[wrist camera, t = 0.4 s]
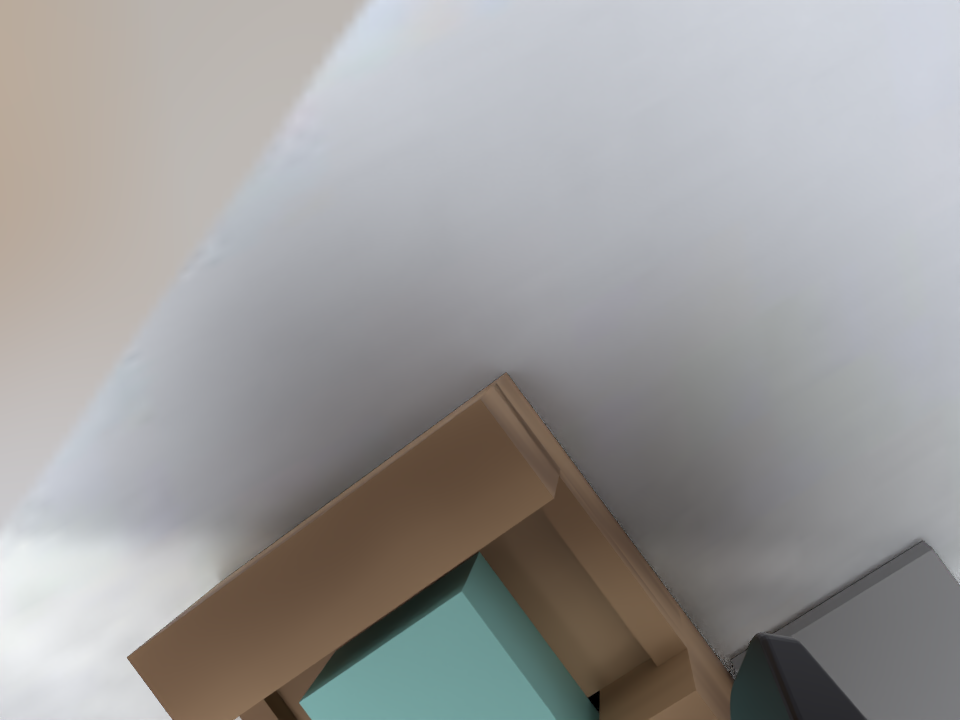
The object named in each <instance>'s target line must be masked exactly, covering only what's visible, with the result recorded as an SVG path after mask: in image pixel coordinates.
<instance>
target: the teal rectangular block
mask: <svg viewBox="0 0 960 720" xmlns="http://www.w3.org/2000/svg"><path fill="white" fill-rule="evenodd" d="M299 703H300V705H301V706H302V707H303V709H304V710H305V711H306V713H307V714H308V716H309V717H310V718H311V720H599V712H598V711H597V710H596V708H595V707H594V706H593V704H592V703H591V702H590V700H589V699H588V698H587V696H586V695H585V694H584V692H583V691H582V690H581V688H580V687H579V685H578V684H577V683H576V681H575V680H574V679H573V677H572V676H571V675H570V673H569V672H568V671H567V669H566V668H565V667H564V665H563V664H562V662H561V661H560V660H559V658H558V657H557V656H556V654H555V653H554V652H553V650H552V649H551V648H550V646H549V645H548V644H547V642H546V641H545V640H544V638H543V637H542V635H541V634H540V633H539V631H538V630H537V629H536V627H535V626H534V625H533V623H532V622H531V621H530V619H529V618H528V617H527V615H526V614H525V613H524V611H523V610H522V608H521V607H520V606H519V604H518V603H517V602H516V600H515V599H514V598H513V596H512V595H511V594H510V592H509V591H508V590H507V588H506V587H505V586H504V584H503V583H502V581H501V580H500V579H499V577H498V576H497V575H496V573H495V572H494V571H493V569H492V568H491V567H490V565H489V564H488V563H487V561H486V560H485V558H484V557H483V556H482V554H481V553H480V552H478V553H477V554H476V555H474V556H473V557H471V558H470V559H468V560H467V561H465V562H464V563H463V564H461V565H460V566H458V567H457V568H455V569H454V570H452V571H451V572H450V573H448V574H447V575H445V576H444V577H442V578H441V579H439V580H438V581H436V582H435V583H434V584H432V585H431V586H429V587H428V588H426V589H425V590H423V591H422V592H421V593H419V594H418V595H416V596H415V597H413V598H412V599H410V600H409V601H408V602H406V603H405V604H403V605H402V606H400V607H399V608H397V609H396V610H394V611H393V612H392V613H390V614H389V615H387V616H386V617H384V618H383V619H381V620H380V621H379V622H377V623H376V624H374V625H373V626H371V627H370V628H368V629H367V630H366V631H364V632H363V633H361V634H360V635H358V636H357V637H355V638H354V639H352V640H351V641H350V642H348V643H347V644H345V645H344V646H342V647H341V648H339V649H338V650H337V651H335V653H334V654H333V655H332V657H331V658H330V660H329V661H328V662H327V664H326V665H325V667H324V668H323V670H322V671H321V672H320V674H319V675H318V677H317V678H316V679H315V681H314V682H313V684H312V685H311V686H310V688H309V689H308V691H307V692H306V693H305V695H304V696H303V698H302V699H301V700H300V702H299Z"/></svg>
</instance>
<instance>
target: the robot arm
mask: <svg viewBox="0 0 960 720" xmlns="http://www.w3.org/2000/svg"><path fill="white" fill-rule="evenodd" d="M730 716H731V720H868V719H867V718H866V717H865V716H864V714H863V713H862V712H861V711H860V710H859V709H858V707H857V706H856V705H855V704H854V703H853V702H852V701H851V699H850V698H849V697H848V696H847V695H846V694H845V692H844V691H843V690H842V689H841V688H840V687H839V685H838V684H837V683H836V682H835V681H834V680H833V678H832V677H831V676H830V675H829V674H828V673H827V671H826V670H825V669H824V668H823V667H822V666H821V665H820V663H819V662H818V661H817V660H816V659H815V658H814V656H813V655H812V654H811V653H810V652H809V651H808V649H807V648H806V647H805V646H804V645H803V644H802V643H801V642H800V641H798V640H797V639H795V638H793V637H788V636H782V635H776V634H770V633H758V634H756V635H755V636H754V637H753V638H752V640H751V642H750V644H749V646H748V649H747V651H746V654H745V656H744V659H743V661H742V663H741V666H740V668H739V671H738V673H737V675H736V678H735V680H734V683H733V686H732V690H731V696H730Z"/></svg>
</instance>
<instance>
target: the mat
mask: <svg viewBox="0 0 960 720" xmlns="http://www.w3.org/2000/svg"><path fill="white" fill-rule="evenodd" d="M773 634H776V635H782V636H788V637H793V638H795V639H797V640H798V641H800V642H801V643H802V644H803V645H804V646H805V647H806V648H807V649H808V651H809V652H810V653H811V654H812V655H813V656H814V658H815V659H816V660H817V661H818V662H819V663H820V665H821V666H822V667H823V668H824V669H825V670H826V671H827V673H828V674H829V675H830V676H831V677H832V678H833V680H834V681H835V682H836V683H837V684H838V685H839V687H840V688H841V689H842V690H843V691H844V692H845V694H846V695H847V696H848V697H849V698H850V699H851V701H852V702H853V703H854V704H855V705H856V706H857V707H858V709H859V710H860V711H861V712H862V713H863V714H864V716H865V717H866V718H867V719H868V720H960V585H959V584H958V582H957V581H956V579H955V578H954V577H953V575H952V574H951V573H950V571H949V570H948V569H947V567H946V566H945V565H944V563H943V562H942V561H941V559H940V558H939V557H938V555H937V554H936V553H935V551H934V550H933V549H932V548H931V547H930V546H929V545H928V544H926V543H925V542H924V541H922V542H921V543H919V544H917V545H916V546H914V547H912V548H911V549H909V550H908V551H906V552H904V553H903V554H901V555H900V556H898V557H896V558H895V559H893V560H891V561H890V562H888V563H887V564H885V565H883V566H882V567H880V568H878V569H877V570H875V571H874V572H872V573H870V574H869V575H867V576H866V577H864V578H862V579H861V580H859V581H857V582H856V583H854V584H853V585H851V586H849V587H848V588H846V589H845V590H843V591H841V592H840V593H838V594H836V595H835V596H833V597H832V598H830V599H828V600H827V601H825V602H824V603H822V604H820V605H819V606H817V607H815V608H814V609H812V610H811V611H809V612H807V613H806V614H804V615H802V616H801V617H799V618H798V619H796V620H794V621H793V622H791V623H790V624H788V625H786V626H785V627H783V628H781V629H780V630H778V631H777V632H775V633H773ZM746 651H747V650H746ZM746 651H744V652H743V653H741V654H739V655H738V656H736V657H735V658H733V659H731V660H732V663H733V666H734V669H735V671H736V673H738V671H739V668H740V666H741V663H742V661H743V659H744V656H745V654H746Z"/></svg>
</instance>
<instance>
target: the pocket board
mask: <svg viewBox="0 0 960 720" xmlns="http://www.w3.org/2000/svg"><path fill="white" fill-rule="evenodd" d="M478 552H480V553H481V554H482V556H483V557H484V558H485V560H486V561H487V563H488V564H489V565H490V567H491V568H492V569H493V571H494V572H495V573H496V575H497V576H498V577H499V579H500V580H501V581H502V583H503V584H504V586H505V587H506V588H507V590H508V591H509V592H510V594H511V595H512V596H513V598H514V599H515V600H516V602H517V603H518V604H519V606H520V607H521V608H522V610H523V611H524V613H525V614H526V615H527V617H528V618H529V619H530V621H531V622H532V623H533V625H534V626H535V627H536V629H537V630H538V631H539V633H540V634H541V635H542V637H543V638H544V640H545V641H546V642H547V644H548V645H549V646H550V648H551V649H552V650H553V652H554V653H555V654H556V656H557V657H558V658H559V660H560V661H561V662H562V664H563V665H564V667H565V668H566V669H567V671H568V672H569V673H570V675H571V676H572V677H573V679H574V680H575V681H576V683H577V684H578V685H579V687H580V688H581V690H582V691H583V692H584V694H585V695H586V696H587V698H588V697H590V696H591V695H593V694H595V693H596V692H598V691H599V690H600V710H599V720H731V716H730V696H731V690H732V686H733V683H734V679H733V677H732V676H731V675H730V673H729V672H728V671H727V669H726V668H725V667H724V665H723V664H722V663H721V661H720V660H719V659H718V657H717V656H716V655H715V653H714V652H713V651H712V649H711V648H710V646H709V645H708V644H707V642H706V641H705V640H704V638H703V637H702V636H701V634H700V633H699V632H698V630H697V629H696V628H695V626H694V625H693V624H692V622H691V621H690V619H689V618H688V617H687V615H686V614H685V613H684V611H683V610H682V609H681V607H680V606H679V605H678V603H677V602H676V601H675V599H674V598H673V597H672V595H671V594H670V593H669V591H668V590H667V588H666V587H665V586H664V584H663V583H662V582H661V580H660V579H659V578H658V576H657V575H656V574H655V572H654V571H653V570H652V568H651V567H650V566H649V564H648V563H647V561H646V560H645V559H644V557H643V556H642V555H641V553H640V552H639V551H638V549H637V548H636V547H635V545H634V544H633V543H632V541H631V540H630V539H629V537H628V536H627V535H626V533H625V532H624V530H623V529H622V528H621V526H620V525H619V524H618V522H617V521H616V520H615V518H614V517H613V516H612V514H611V513H610V512H609V510H608V509H607V508H606V506H605V505H604V504H603V502H602V501H601V499H600V498H599V497H598V495H597V494H596V493H595V491H594V490H593V489H592V487H591V486H590V485H589V483H588V482H587V481H586V479H585V478H584V477H583V475H582V474H581V472H580V471H579V470H578V468H577V467H576V466H575V464H574V463H573V462H572V460H571V459H570V458H569V456H568V455H567V454H566V452H565V451H564V450H563V448H562V447H561V446H560V444H559V443H558V441H557V440H556V439H555V437H554V436H553V435H552V433H551V432H550V431H549V429H548V428H547V427H546V425H545V424H544V423H543V421H542V420H541V419H540V417H539V416H538V414H537V413H536V412H535V410H534V409H533V408H532V406H531V405H530V404H529V402H528V401H527V400H526V398H525V397H524V396H523V394H522V393H521V392H520V390H519V389H518V388H517V386H516V385H515V383H514V382H513V381H512V379H511V378H510V377H509V375H508V374H507V373H505V374H503V375H502V376H501V377H499V378H498V379H497V380H495V381H494V382H492V383H491V384H490V385H488V386H487V387H486V388H484V389H483V390H482V391H480V392H479V393H477V394H476V395H475V396H473V397H472V398H471V399H469V400H468V401H467V402H465V403H464V404H462V405H461V406H460V407H458V408H457V409H456V410H454V411H453V412H452V413H450V414H449V415H448V416H446V417H445V418H443V419H442V420H441V421H439V422H438V423H437V424H435V425H434V426H433V427H431V428H430V429H428V430H427V431H426V432H424V433H423V434H422V435H420V436H419V437H418V438H416V439H415V440H413V441H412V442H411V443H409V444H408V445H407V446H405V447H404V448H403V449H401V450H400V451H398V452H397V453H396V454H394V455H393V456H392V457H390V458H389V459H388V460H386V461H385V462H383V463H382V464H381V465H379V466H378V467H377V468H375V469H374V470H373V471H371V472H370V473H368V474H367V475H366V476H364V477H363V478H362V479H360V480H359V481H358V482H356V483H355V484H354V485H352V486H351V487H349V488H348V489H347V490H345V491H344V492H343V493H341V494H340V495H339V496H337V497H336V498H334V499H333V500H332V501H330V502H329V503H328V504H326V505H325V506H324V507H322V508H321V509H319V510H318V511H317V512H315V513H314V514H313V515H311V516H310V517H309V518H307V519H306V520H304V521H303V522H302V523H300V524H299V525H298V526H296V527H295V528H294V529H292V530H291V531H289V532H288V533H287V534H285V535H284V536H283V537H281V538H280V539H279V540H277V541H276V542H274V543H273V544H272V545H270V546H269V547H268V548H266V549H265V550H264V551H262V552H261V553H260V554H258V555H257V556H255V557H254V558H253V559H251V560H250V561H249V562H247V563H246V564H245V565H243V566H242V567H240V568H239V569H238V570H236V571H235V572H234V573H232V574H231V575H230V576H228V577H227V578H225V579H224V580H223V581H221V582H220V583H219V584H217V585H216V586H215V587H214V588H212V589H211V590H210V591H209V592H207V593H206V594H205V595H204V596H202V597H201V598H200V599H199V600H198V601H196V602H195V603H194V604H193V605H191V606H190V607H189V608H188V609H186V610H185V611H184V612H183V613H181V614H180V615H179V616H178V617H176V618H175V619H174V620H173V621H171V622H170V623H169V624H168V625H166V626H165V627H164V628H163V629H162V630H160V631H159V632H158V633H157V634H155V635H154V636H153V637H152V638H150V639H149V640H148V641H147V642H145V643H144V644H143V645H142V646H140V647H139V648H138V649H137V650H135V651H134V652H133V653H132V654H130V655H129V656H128V657H127V659H128V660H129V661H130V663H131V664H132V665H133V667H134V668H135V669H136V671H137V672H138V674H139V675H140V676H141V678H142V679H143V680H144V682H145V683H146V684H147V686H148V687H149V688H150V690H151V691H152V693H153V694H154V695H155V697H156V698H157V699H158V701H159V702H160V703H161V705H162V706H163V707H164V709H165V710H166V712H167V713H168V714H169V716H170V717H171V718H172V720H234V719H235V718H237V717H238V716H240V718H241V719H242V720H311V718H310V717H309V716H308V714H307V713H306V711H305V710H304V709H303V707H302V706H301V705H300V703H299V702H300V700H301V699H302V698H303V696H304V695H305V693H306V692H307V691H308V689H309V688H310V686H311V685H312V684H313V682H314V681H315V679H316V678H317V677H318V675H319V674H320V672H321V671H322V670H323V668H324V667H325V665H326V664H327V662H328V661H329V660H330V658H331V657H332V655H333V654H334V653H335V651H337V650H338V649H339V648H341V647H342V646H344V645H345V644H347V643H348V642H350V641H351V640H352V639H354V638H355V637H357V636H358V635H360V634H361V633H363V632H364V631H366V630H367V629H368V628H370V627H371V626H373V625H374V624H376V623H377V622H379V621H380V620H381V619H383V618H384V617H386V616H387V615H389V614H390V613H392V612H393V611H394V610H396V609H397V608H399V607H400V606H402V605H403V604H405V603H406V602H408V601H409V600H410V599H412V598H413V597H415V596H416V595H418V594H419V593H421V592H422V591H423V590H425V589H426V588H428V587H429V586H431V585H432V584H434V583H435V582H436V581H438V580H439V579H441V578H442V577H444V576H445V575H447V574H448V573H450V572H451V571H452V570H454V569H455V568H457V567H458V566H460V565H461V564H463V563H464V562H465V561H467V560H468V559H470V558H471V557H473V556H474V555H476V554H477V553H478Z"/></svg>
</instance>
